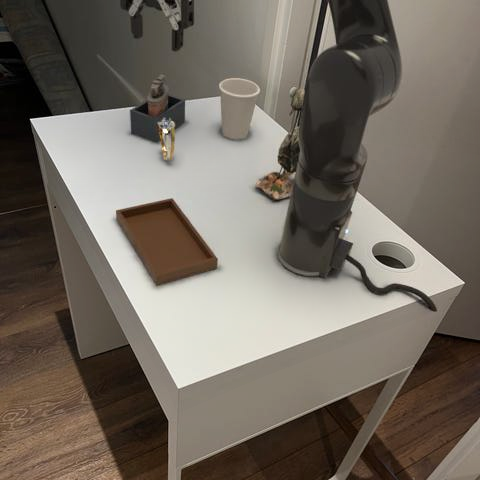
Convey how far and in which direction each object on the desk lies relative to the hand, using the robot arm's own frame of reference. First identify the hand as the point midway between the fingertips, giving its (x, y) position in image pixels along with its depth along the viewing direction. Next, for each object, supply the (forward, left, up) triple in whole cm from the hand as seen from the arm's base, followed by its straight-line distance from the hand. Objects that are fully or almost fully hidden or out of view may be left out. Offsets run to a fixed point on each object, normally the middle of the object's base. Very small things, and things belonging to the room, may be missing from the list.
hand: (157, 43), depth 94 cm
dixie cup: (-14, -9, -17) cm, 24 cm away
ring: (-8, +9, -17) cm, 21 cm away
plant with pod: (-31, +4, -17) cm, 36 cm away
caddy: (0, 0, -17) cm, 17 cm away
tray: (-22, +31, -17) cm, 42 cm away
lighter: (0, 0, -17) cm, 17 cm away
